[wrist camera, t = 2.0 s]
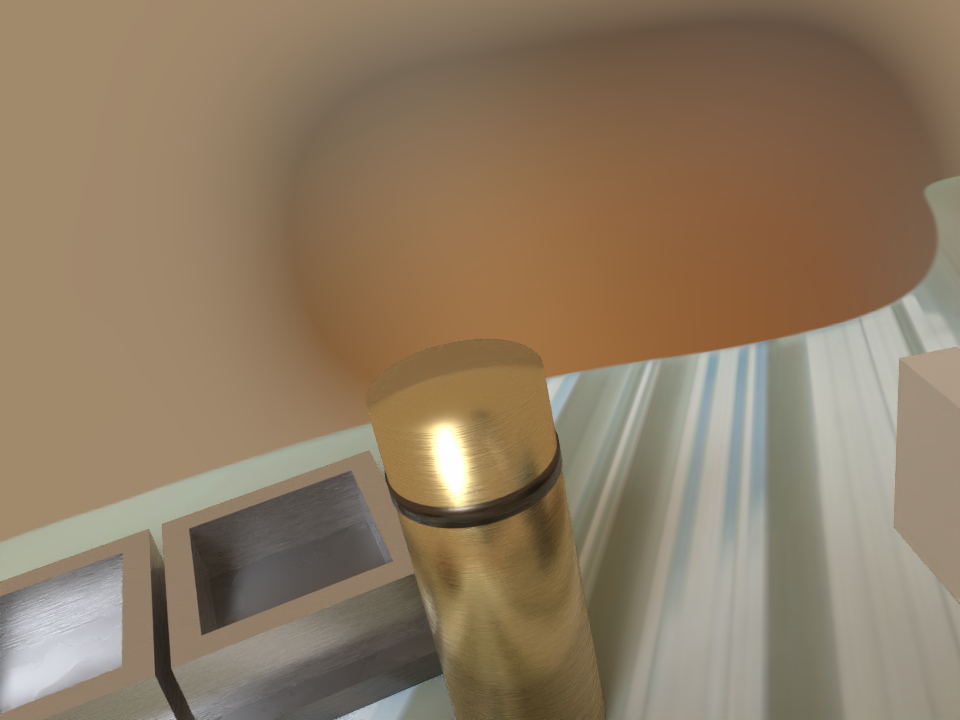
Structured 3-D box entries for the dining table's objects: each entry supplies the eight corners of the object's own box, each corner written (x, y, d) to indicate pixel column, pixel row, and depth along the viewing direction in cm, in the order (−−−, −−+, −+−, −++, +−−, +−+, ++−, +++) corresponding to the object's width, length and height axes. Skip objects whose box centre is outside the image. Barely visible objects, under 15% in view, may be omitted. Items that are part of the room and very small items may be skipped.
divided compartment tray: (388, 504, 39) (368, 437, 38) (468, 662, 30) (446, 582, 29) (-45, 665, 35) (-87, 597, 34) (-106, 906, 26) (-167, 827, 24)
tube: (567, 641, 30) (504, 322, 25) (634, 741, 26) (577, 386, 21) (440, 696, 29) (346, 375, 24) (490, 809, 25) (390, 453, 20)
